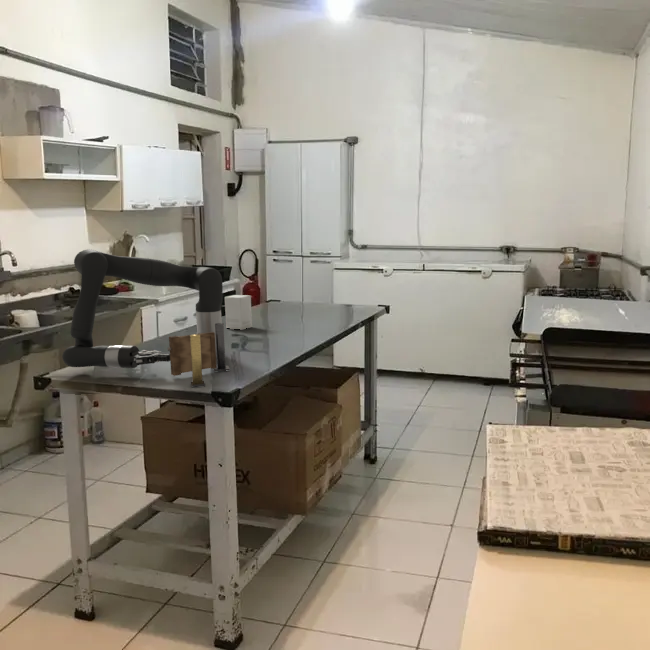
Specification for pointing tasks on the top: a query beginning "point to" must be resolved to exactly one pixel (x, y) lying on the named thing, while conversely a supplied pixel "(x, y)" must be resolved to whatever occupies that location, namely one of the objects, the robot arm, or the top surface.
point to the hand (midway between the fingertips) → (170, 357)
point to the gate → (182, 352)
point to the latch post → (196, 360)
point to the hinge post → (220, 348)
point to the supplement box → (238, 312)
